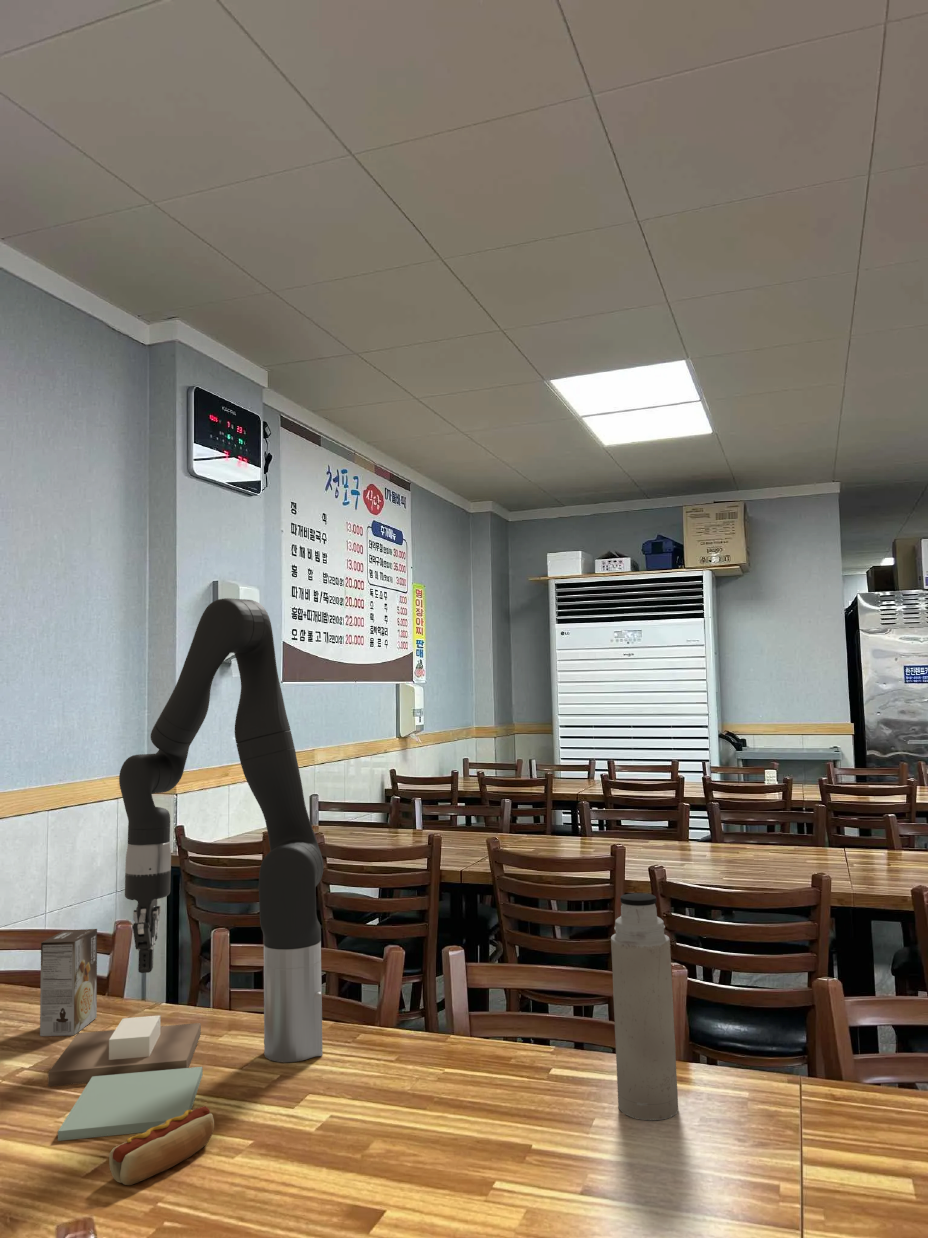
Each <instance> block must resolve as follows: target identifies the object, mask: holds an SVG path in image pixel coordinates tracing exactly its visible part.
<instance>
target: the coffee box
mask: <svg viewBox="0 0 928 1238" xmlns="http://www.w3.org/2000/svg"><path fill="white" fill-rule="evenodd" d="M97 979H98V928H90V929H88V928H87V929H84V928H83V929H66V930H62V931H60V932H59V933H56V934H55V935H53V936H50V937H49V938H47V939H45V940H43V941H42V942H41V943H40V994H39V995H40V1000H39V1001H40V1003H39V1005H40V1006H39V1007H40V1009H39V1013H40V1014H39V1036H40V1037H56V1036H57V1037H61V1036H63V1037H64V1036H65V1037H66V1036H67V1037H68V1036H76V1035H77V1034H78V1033H80V1031H81V1030H83V1029H84V1028H86V1026H88V1025H89V1024H91V1023H92V1022H93V1021H94V1020H95V1019H97V1018H98V1017H97V1015H98V1014H97V1013H98V1012H97V1010H98V1008H97V1005H98V993H97V992H98V984H97V982H98V980H97Z"/></svg>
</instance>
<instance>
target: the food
mask: <svg viewBox="0 0 928 1238" xmlns="http://www.w3.org/2000/svg"><path fill="white" fill-rule="evenodd" d="M214 1129H215V1119H214V1115H213V1114H212V1112H211V1109H210V1108H209V1107H207V1106H206V1105H205V1106H204V1105H203V1106H201V1107H197V1108H193V1109H191V1110H187V1111H185V1112H184V1114H183V1115H181V1116H178V1117H174V1118H172V1119H169V1120H167V1121H166V1122H165V1123H163V1124H161V1125H158V1126H156V1127H152V1128H150V1129H148V1130H147V1131H146V1132H141V1133H138V1134H136V1135H133V1136H131V1137H128V1138H127V1140H126V1141H125V1142H122V1143H121V1144H119V1145H117V1146H114V1147H113V1148H112V1150H111V1151H109V1153H108V1154H109V1155H108V1159H109V1160H108V1162H109V1163H108V1164H109V1170H110V1173H111V1176H112V1178H113V1179H114V1181H116V1182H117V1183H120V1184H123V1185H124V1186H131V1185H132V1186H133V1185H134V1184H137V1183H140V1182H143V1181H145V1180H147V1179H149V1178H151V1177H153V1176H155V1175H158V1174H159V1173H162V1172H164V1171H167V1170H169V1169H171V1168H172V1167H174V1166H176V1165H178V1164H180V1163H181V1162H183V1161H185V1160H187V1159H189V1158H190V1157H192V1156H194V1154H196V1153H197V1152H198V1151H200V1150H201V1149H202V1148H204V1147H205V1146H206V1145H207V1144H208V1143H209V1141H210V1139H211V1137H212V1136H213V1133H214Z"/></svg>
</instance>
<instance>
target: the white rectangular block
mask: <svg viewBox="0 0 928 1238" xmlns="http://www.w3.org/2000/svg"><path fill="white" fill-rule="evenodd" d="M160 1026H161V1015H149V1016H136V1017H135V1016H134V1017H123V1018H122V1019H121V1021H120V1022H119V1024H118V1025H117V1026H116V1028H115V1029H114V1030H115V1031H114V1033H113V1034H112V1036H111V1038H110V1039H109V1060H114V1059H126V1058H137V1057H149V1056H150V1054H151V1052H152V1050H153V1048H154V1046H155V1044H156V1042H157V1040H158V1038H159V1036H160Z"/></svg>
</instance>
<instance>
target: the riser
mask: <svg viewBox="0 0 928 1238" xmlns="http://www.w3.org/2000/svg"><path fill="white" fill-rule="evenodd" d="M201 1026H202V1023H201V1022H199V1023H198V1022H196V1023H183V1024H171V1025H160V1036H159V1038H158V1040H157V1042H156V1044H155V1046H154V1048H153V1050H152V1052H151V1054H150V1056H149V1057H137V1058H126V1059H114V1060H109V1039H110V1038H111V1036H112V1034H113V1033H114V1031H115V1030H116V1029H110V1030H100V1031H98V1030H97V1031H84V1032H78V1033H77V1034H75V1035H74V1038H73V1039H72V1040H71V1042H70V1043H69V1044H68V1046H66V1049H64V1050H63V1052H62V1054H61V1055H60V1056H59V1057H58V1059H57V1060H55V1061H56V1062H55V1063H54V1064H53V1065H52V1067H51V1068H50V1070H49V1071H47V1072H48V1073H47V1087H56V1086H68V1085H77V1084H88V1082H89V1081H90V1079H91V1078H92V1077H93V1076H104V1075H115V1074H126V1073H137V1072H148V1071H159V1070H170V1069H182V1068H190V1065H191V1063H192V1060H193V1057H194V1055H193V1054H195V1051H196V1050H197V1049H196V1048H197V1046H198V1044H199V1041H200V1038H201V1036H200V1035H202V1032H201V1031H202V1029H201V1028H202V1027H201ZM198 1040H199V1041H198ZM197 1043H198V1044H197Z"/></svg>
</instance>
